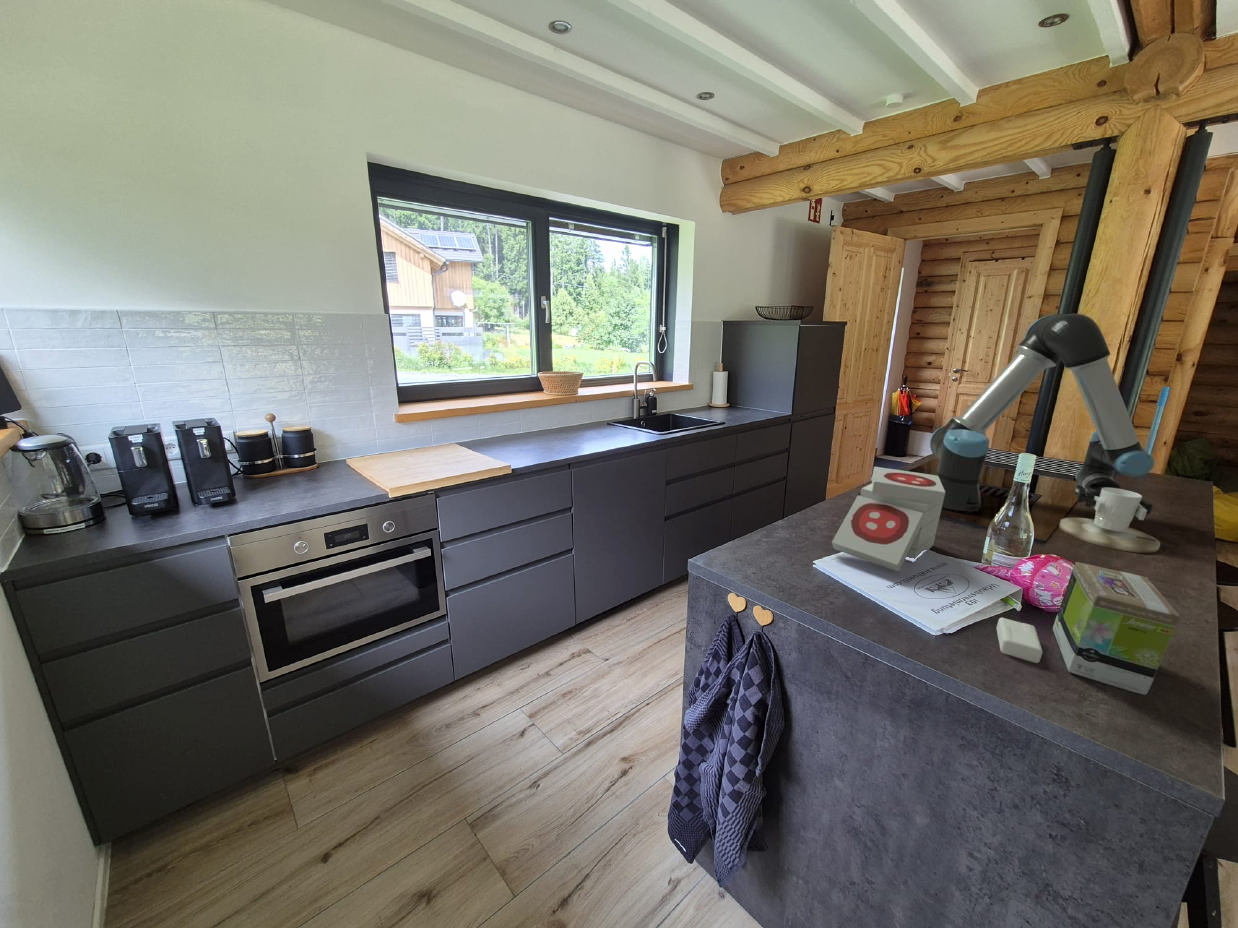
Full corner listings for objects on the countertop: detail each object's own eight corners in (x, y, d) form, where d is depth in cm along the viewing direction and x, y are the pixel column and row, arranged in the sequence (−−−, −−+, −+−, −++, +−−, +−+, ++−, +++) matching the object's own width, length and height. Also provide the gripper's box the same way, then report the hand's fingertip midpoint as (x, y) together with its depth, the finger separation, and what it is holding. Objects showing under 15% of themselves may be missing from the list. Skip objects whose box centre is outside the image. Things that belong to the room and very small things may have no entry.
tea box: (1149, 698, 78) (1183, 615, 74) (1066, 673, 83) (1093, 594, 79) (1121, 647, 90) (1149, 574, 86) (1050, 628, 95) (1073, 558, 91)
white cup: (1113, 522, 139) (1124, 488, 137) (1138, 533, 132) (1151, 498, 129) (1082, 520, 140) (1093, 486, 137) (1106, 531, 133) (1118, 496, 130)
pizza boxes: (821, 553, 123) (833, 484, 118) (869, 523, 143) (881, 463, 137) (905, 584, 109) (922, 508, 104) (945, 546, 129) (961, 480, 124)
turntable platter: (1065, 539, 134) (1067, 533, 134) (1054, 516, 150) (1055, 511, 150) (1170, 560, 124) (1172, 554, 123) (1145, 533, 140) (1147, 528, 139)
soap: (1039, 665, 85) (1044, 650, 84) (999, 654, 88) (1004, 639, 87) (1031, 638, 92) (1035, 624, 91) (995, 628, 95) (999, 615, 94)
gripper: (1144, 508, 145) (1171, 534, 126) (1053, 493, 155) (1066, 515, 137) (1153, 484, 142) (1181, 507, 124) (1060, 470, 153) (1074, 489, 135)
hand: (1121, 511), depth 130 cm, fingers closed on white cup, 7 cm apart
